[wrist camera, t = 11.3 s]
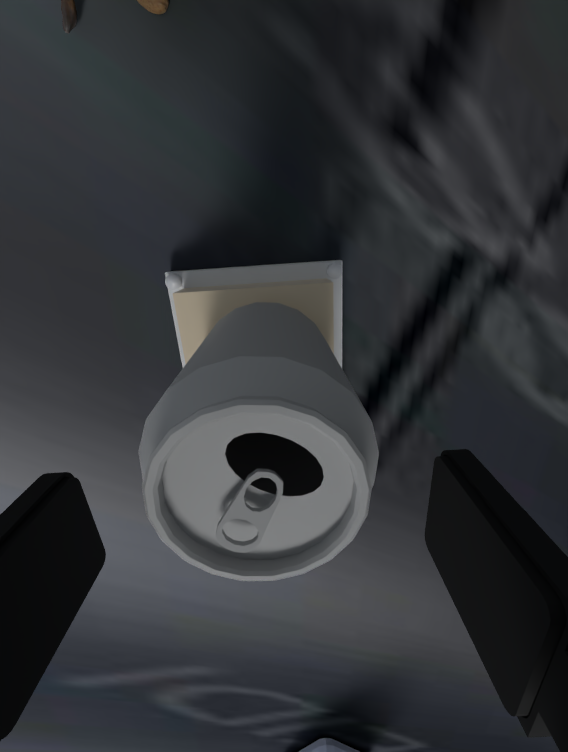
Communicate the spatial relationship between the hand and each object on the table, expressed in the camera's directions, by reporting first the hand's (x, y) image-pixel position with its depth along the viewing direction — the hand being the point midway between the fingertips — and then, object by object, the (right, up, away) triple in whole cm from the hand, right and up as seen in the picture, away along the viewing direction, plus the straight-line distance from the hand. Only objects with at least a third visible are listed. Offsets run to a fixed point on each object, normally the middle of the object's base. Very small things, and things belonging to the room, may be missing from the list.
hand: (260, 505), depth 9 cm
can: (0, +4, +11) cm, 12 cm away
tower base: (-1, +6, +15) cm, 16 cm away
